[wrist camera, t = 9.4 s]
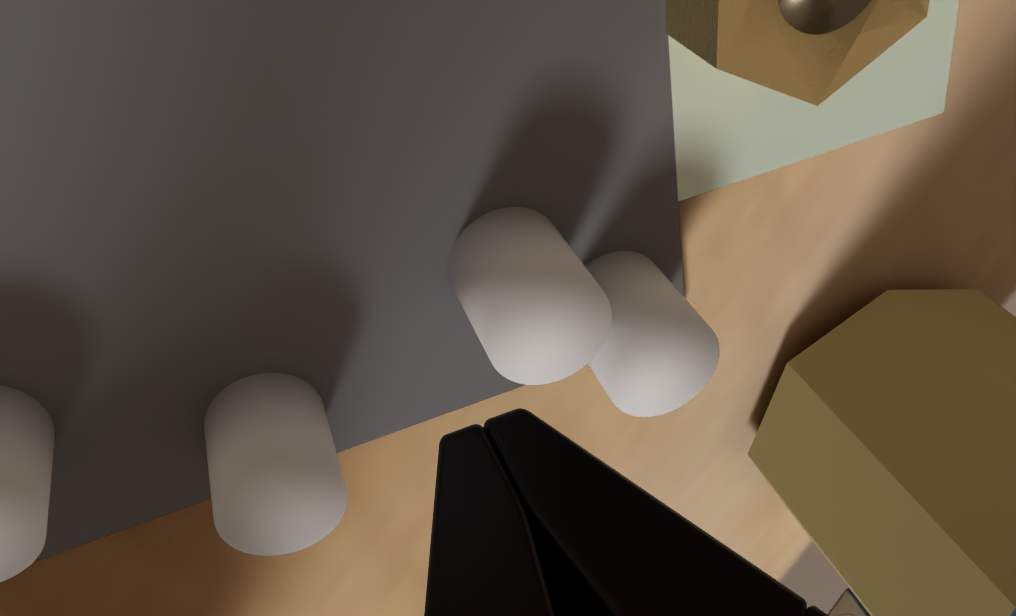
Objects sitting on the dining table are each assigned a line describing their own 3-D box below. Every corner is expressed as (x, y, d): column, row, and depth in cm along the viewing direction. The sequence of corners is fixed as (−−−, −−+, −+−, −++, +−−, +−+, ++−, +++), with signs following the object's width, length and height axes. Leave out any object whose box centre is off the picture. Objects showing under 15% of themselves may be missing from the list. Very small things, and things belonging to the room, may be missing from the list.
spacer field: (675, 314, 26) (743, 396, 23) (-37, 568, 22) (-59, 698, 20) (601, -765, 13) (729, -876, 10) (-982, -526, 10) (-1398, -595, 7)
